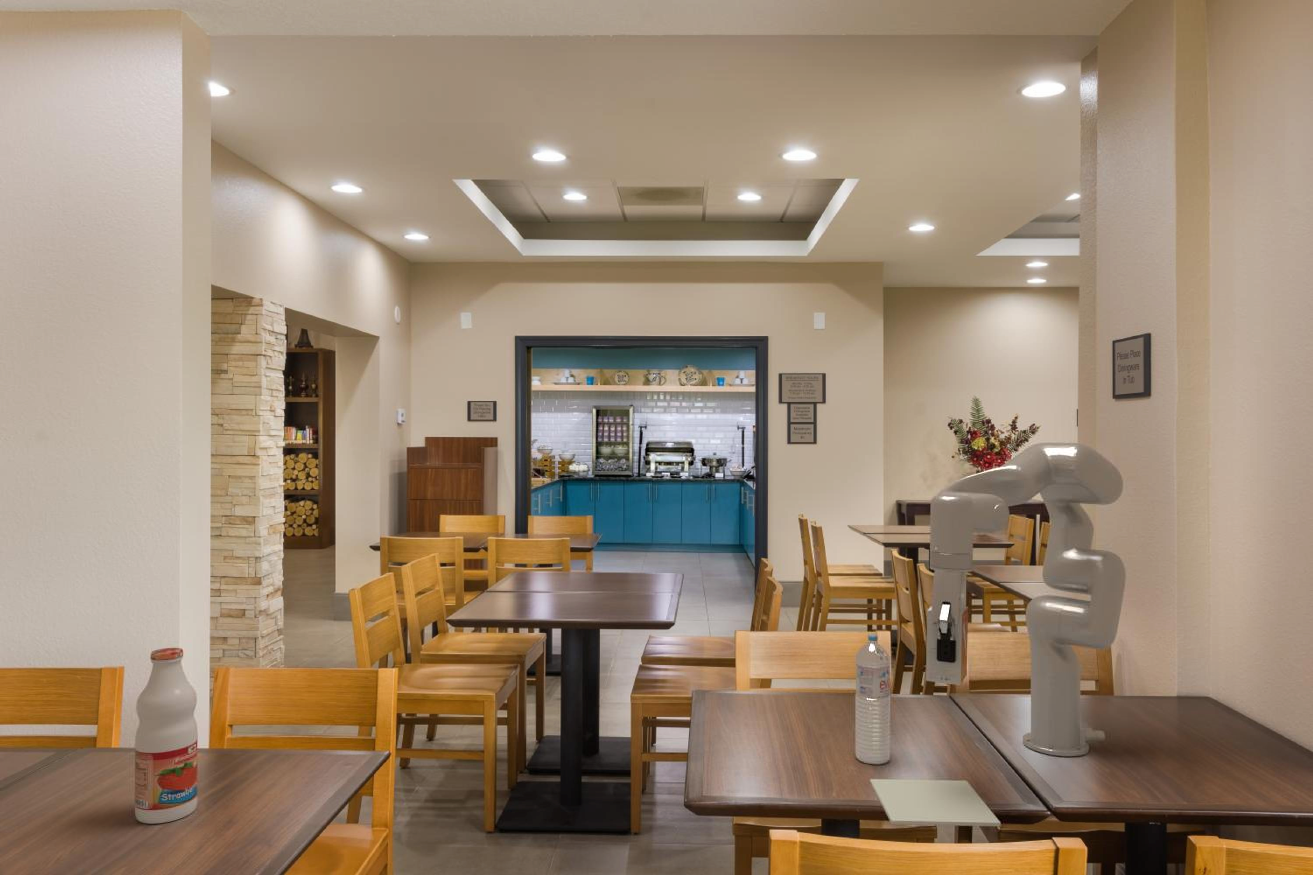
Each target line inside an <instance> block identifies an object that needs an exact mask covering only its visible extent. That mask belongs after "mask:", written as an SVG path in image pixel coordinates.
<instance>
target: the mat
mask: <svg viewBox="0 0 1313 875" xmlns="http://www.w3.org/2000/svg"><path fill="white" fill-rule="evenodd" d="M870 783H871V784H870ZM869 784H870V785H871V787H872V790H873V791H874V794H875V795H876V797H877V799H878V801H879V802H880V804H881V806H882V808H883V810H884V812H885V814H886V816H887V817H888V820H889V822H890V823H891V825H902V826H903V825H909V826H912V825H913V826H917V825H918V826H921V825H922V826H962V827H966V826H968V827H1001V826H1002V825H1001V824H1002V823H1001V821H1000V820H999V819H998V817H997V816H996V815H995V814H994V813H993V811H991V809H990V807H988V805H987V804H986V803H985V801H984V800H983V799H982V798H981V797H980V795H979V794H978V793H977V792H976V790H975V789H974V788H973V786H971V784H970V783H969V782H968V780H952V779H951V780H950V779H949V780H948V779H946V780H939V779H937V780H935V779H893V778H892V779H890V778H889V779H886V778H885V779H883V778H879V779H877V778H870V779H869Z"/></svg>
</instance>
